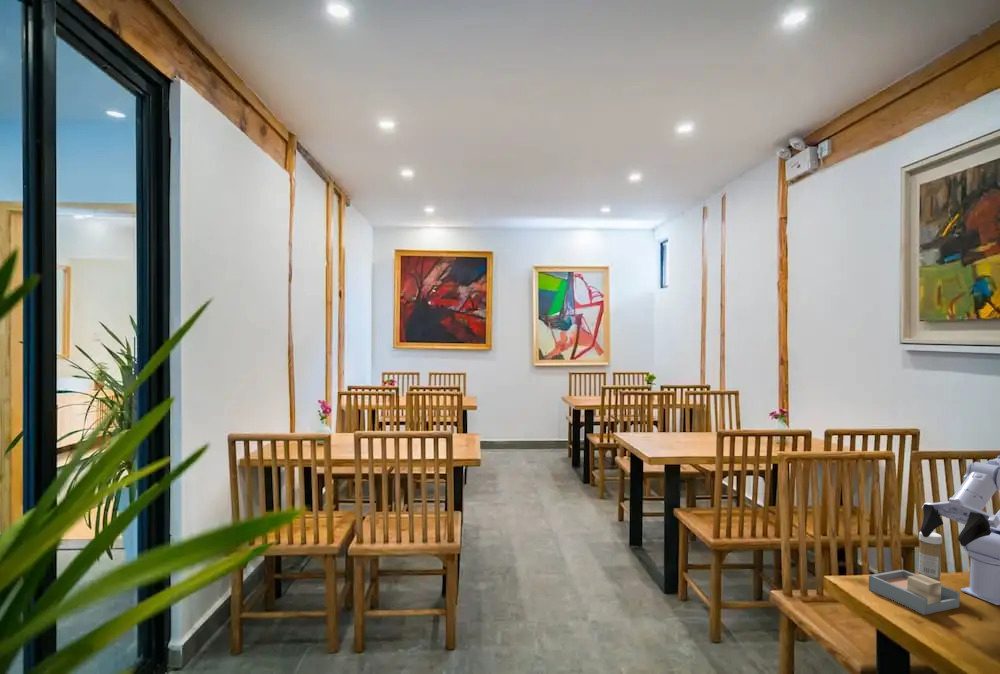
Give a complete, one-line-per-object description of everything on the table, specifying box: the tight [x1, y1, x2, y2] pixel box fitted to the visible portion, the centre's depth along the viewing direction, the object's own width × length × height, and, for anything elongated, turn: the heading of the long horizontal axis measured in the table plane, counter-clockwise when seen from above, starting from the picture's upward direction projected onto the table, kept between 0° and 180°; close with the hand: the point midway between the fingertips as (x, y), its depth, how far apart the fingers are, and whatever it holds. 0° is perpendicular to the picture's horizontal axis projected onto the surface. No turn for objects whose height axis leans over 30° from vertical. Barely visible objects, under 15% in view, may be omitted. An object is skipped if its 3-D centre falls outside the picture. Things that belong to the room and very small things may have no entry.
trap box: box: [868, 569, 961, 616], centre depth 134 cm, size 12×13×4 cm
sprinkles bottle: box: [918, 531, 943, 582], centre depth 140 cm, size 5×5×14 cm
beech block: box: [907, 573, 942, 605], centre depth 129 cm, size 4×4×4 cm
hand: (941, 538), depth 126 cm, fingers open, 7 cm apart
